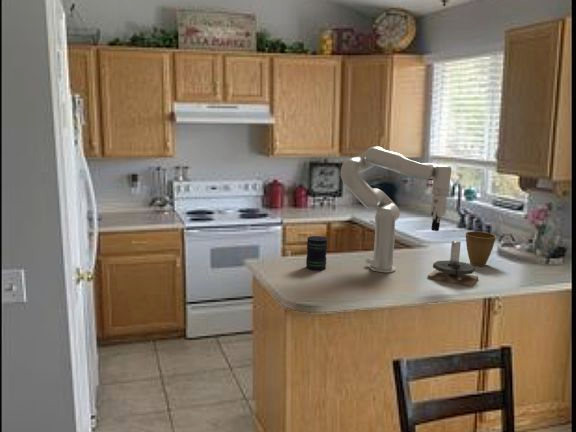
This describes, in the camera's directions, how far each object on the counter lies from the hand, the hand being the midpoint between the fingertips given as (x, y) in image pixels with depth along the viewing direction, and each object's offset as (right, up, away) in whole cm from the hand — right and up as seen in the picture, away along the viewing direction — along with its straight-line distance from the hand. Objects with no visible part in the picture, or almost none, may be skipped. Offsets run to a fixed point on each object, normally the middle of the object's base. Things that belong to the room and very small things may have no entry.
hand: (435, 230), depth 265 cm
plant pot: (+30, -19, +30) cm, 46 cm away
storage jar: (-55, -19, +11) cm, 60 cm away
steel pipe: (+9, -21, +1) cm, 23 cm away
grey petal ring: (+9, -18, 0) cm, 20 cm away
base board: (+9, -23, +1) cm, 25 cm away
